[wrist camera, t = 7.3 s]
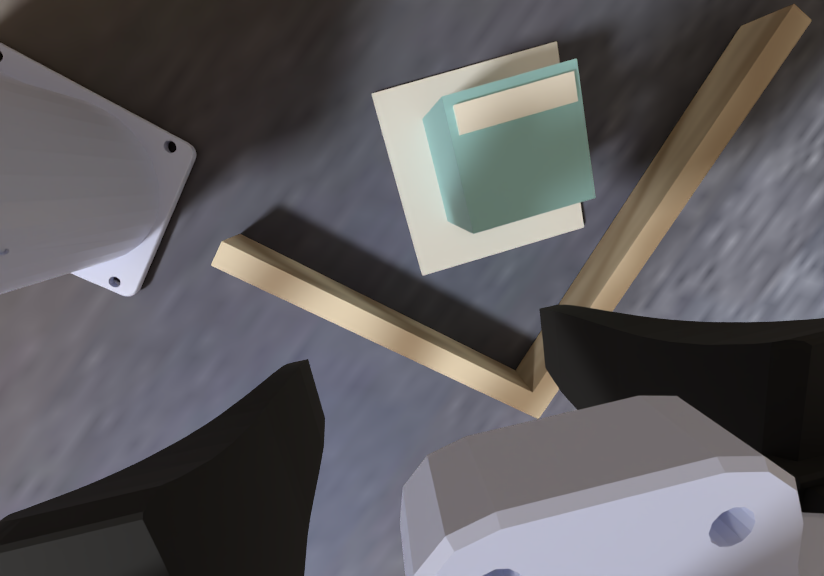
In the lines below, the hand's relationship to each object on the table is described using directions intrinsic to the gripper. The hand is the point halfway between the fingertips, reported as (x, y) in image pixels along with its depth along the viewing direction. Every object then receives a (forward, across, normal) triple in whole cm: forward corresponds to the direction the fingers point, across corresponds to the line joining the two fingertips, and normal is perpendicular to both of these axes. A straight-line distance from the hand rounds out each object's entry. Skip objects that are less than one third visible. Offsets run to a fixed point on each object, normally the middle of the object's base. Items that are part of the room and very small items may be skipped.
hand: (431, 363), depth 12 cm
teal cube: (+9, -5, -6) cm, 12 cm away
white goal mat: (+9, -5, -5) cm, 12 cm away
